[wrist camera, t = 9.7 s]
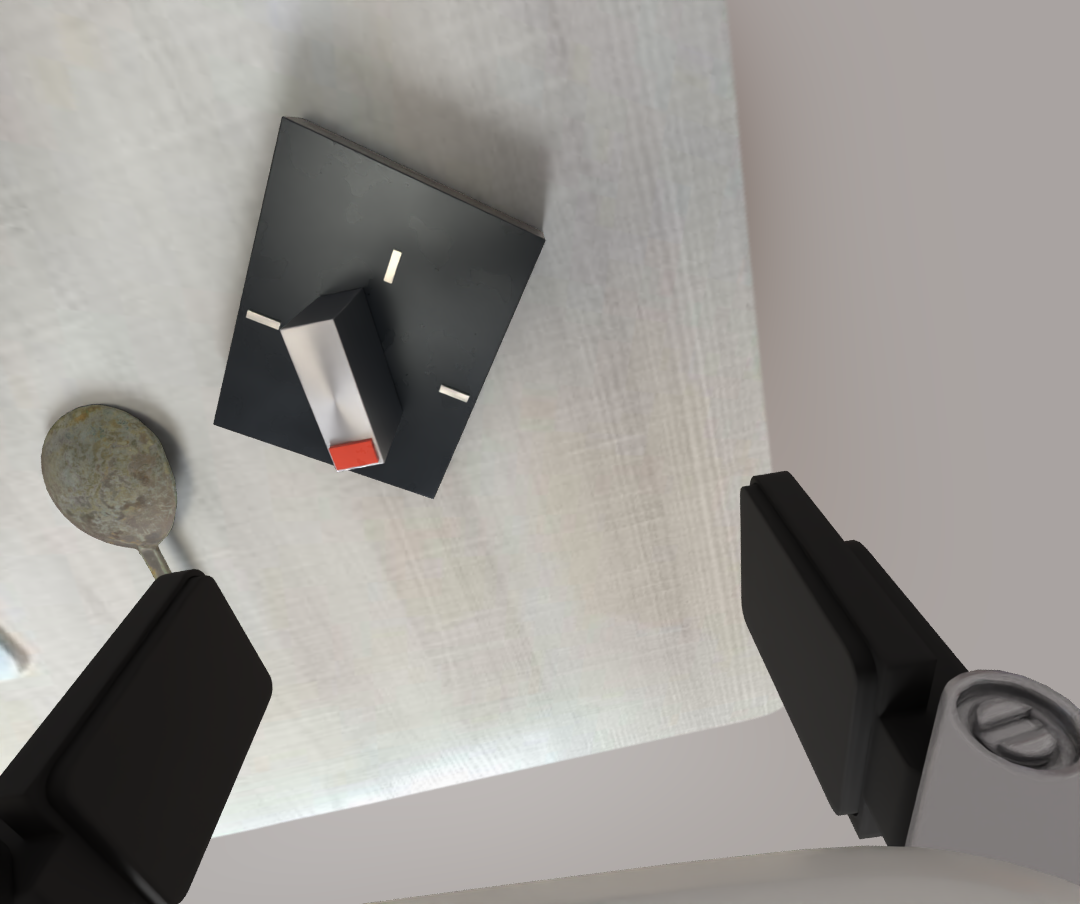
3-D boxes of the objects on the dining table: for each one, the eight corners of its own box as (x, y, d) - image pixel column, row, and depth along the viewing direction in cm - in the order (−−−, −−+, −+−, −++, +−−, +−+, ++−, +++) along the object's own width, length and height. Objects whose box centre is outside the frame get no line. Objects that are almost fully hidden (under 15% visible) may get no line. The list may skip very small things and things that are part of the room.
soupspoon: (161, 389, 30) (42, 407, 31) (119, 415, 27) (-12, 434, 28) (302, 693, 40) (210, 704, 40) (282, 737, 37) (183, 747, 37)
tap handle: (317, 296, 26) (276, 331, 21) (362, 287, 25) (331, 320, 21) (362, 420, 28) (335, 475, 24) (403, 412, 28) (383, 466, 24)
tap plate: (302, 117, 25) (280, 115, 22) (542, 231, 27) (546, 240, 25) (234, 403, 30) (211, 426, 28) (438, 475, 33) (433, 501, 31)
